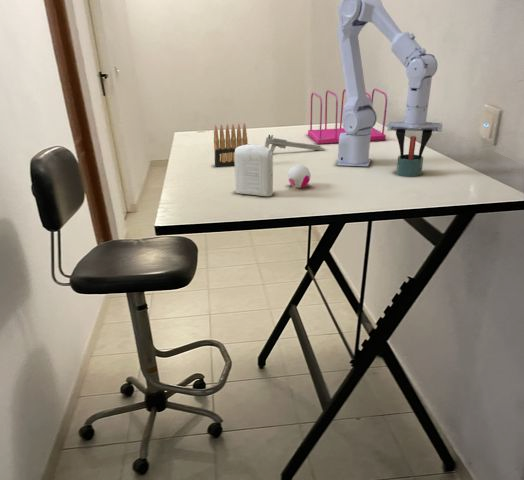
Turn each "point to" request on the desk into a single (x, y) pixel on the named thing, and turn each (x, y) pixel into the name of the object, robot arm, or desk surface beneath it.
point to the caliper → (288, 144)
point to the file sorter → (333, 134)
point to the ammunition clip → (228, 145)
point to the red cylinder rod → (411, 148)
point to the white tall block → (254, 170)
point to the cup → (409, 166)
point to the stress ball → (299, 176)
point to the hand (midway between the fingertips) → (410, 157)
